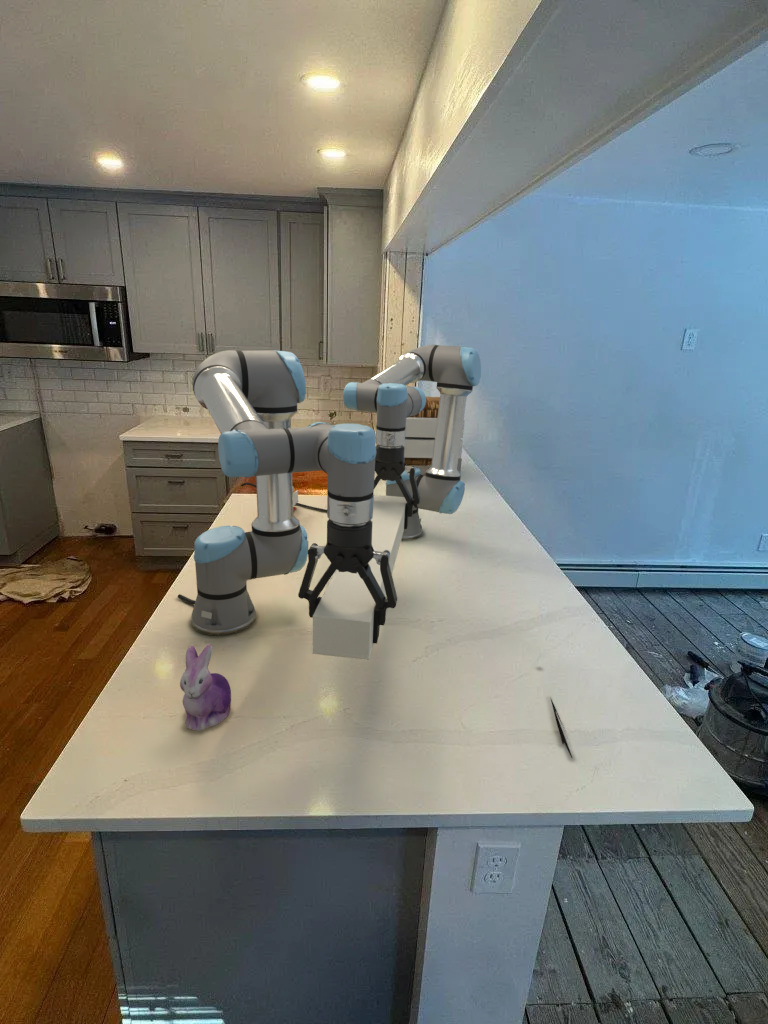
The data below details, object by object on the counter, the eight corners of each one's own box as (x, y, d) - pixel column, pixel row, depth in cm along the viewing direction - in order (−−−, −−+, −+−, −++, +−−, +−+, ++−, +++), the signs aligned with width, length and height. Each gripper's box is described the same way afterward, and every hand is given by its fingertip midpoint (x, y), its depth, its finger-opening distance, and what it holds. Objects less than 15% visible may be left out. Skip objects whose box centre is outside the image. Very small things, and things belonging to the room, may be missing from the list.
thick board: (371, 519, 160) (372, 494, 157) (406, 522, 159) (407, 497, 156) (312, 653, 97) (312, 615, 94) (368, 660, 96) (370, 622, 93)
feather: (540, 672, 128) (545, 666, 127) (572, 762, 101) (579, 755, 101) (533, 668, 128) (539, 662, 127) (564, 758, 101) (571, 750, 100)
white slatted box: (382, 463, 289) (386, 382, 275) (445, 464, 293) (451, 384, 279) (390, 482, 257) (394, 392, 243) (460, 483, 261) (468, 394, 247)
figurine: (187, 740, 102) (180, 669, 97) (178, 706, 110) (171, 639, 105) (239, 725, 106) (236, 656, 101) (227, 693, 115) (223, 628, 109)
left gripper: (277, 521, 91) (279, 640, 99) (415, 534, 89) (407, 655, 96) (290, 506, 98) (292, 618, 106) (419, 517, 96) (411, 631, 103)
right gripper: (344, 445, 144) (343, 527, 152) (432, 451, 141) (426, 534, 149) (350, 439, 151) (348, 517, 159) (434, 444, 148) (428, 524, 156)
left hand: (346, 635), depth 101 cm, fingers closed on thick board, 10 cm apart
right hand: (386, 525), depth 154 cm, fingers closed on thick board, 10 cm apart
